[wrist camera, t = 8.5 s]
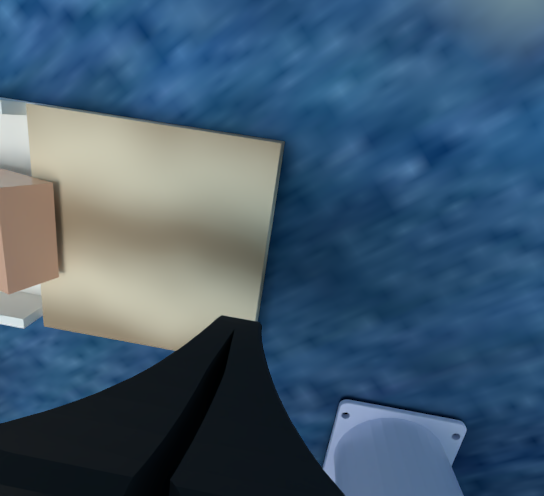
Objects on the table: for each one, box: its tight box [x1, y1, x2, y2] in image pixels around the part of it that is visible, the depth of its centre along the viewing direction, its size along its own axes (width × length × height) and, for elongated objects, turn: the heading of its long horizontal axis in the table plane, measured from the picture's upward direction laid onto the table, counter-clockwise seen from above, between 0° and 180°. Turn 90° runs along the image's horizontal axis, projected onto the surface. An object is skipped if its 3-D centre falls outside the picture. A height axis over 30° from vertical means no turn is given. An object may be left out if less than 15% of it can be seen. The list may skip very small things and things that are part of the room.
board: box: [26, 104, 285, 351], centre depth 19 cm, size 12×12×2 cm
